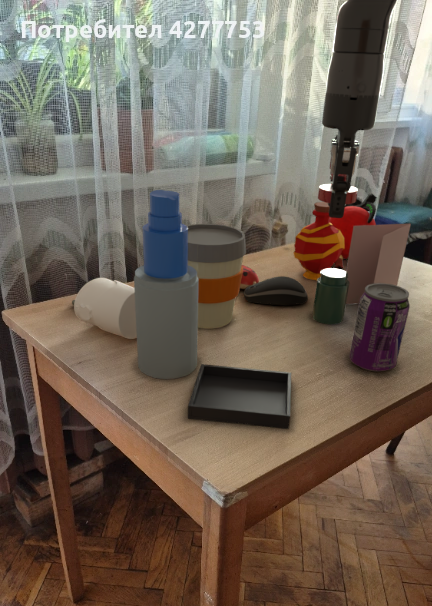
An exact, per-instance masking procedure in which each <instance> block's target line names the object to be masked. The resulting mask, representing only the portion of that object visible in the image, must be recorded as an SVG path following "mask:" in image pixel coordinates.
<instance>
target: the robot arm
mask: <svg viewBox="0 0 432 606" xmlns="http://www.w3.org/2000/svg"><path fill="white" fill-rule="evenodd" d="M397 2H398V0H346V1H345V2H344V3H342V5H341V6H340V7H339V10H338V13H337V17H336V23H335V30H334V36H333V37H334V38H333V45H332V53H331V58H330V63H329V66H328V72H327V78H326V87H325V96H324V101H323V102H324V103H323V111H322V119H321V120H322V121H321V124H322V126H323V127H325V128H326V129H327V128H328V129H333V130H337V134H336V135H335V136H334V139H331V142H330V151H329V152H330V159H329V180H330V184H332V185H331V189H332V190H331V192H332V194H331V201H330V203H328V206H329V207H330V208H329V216H330V217H331V218H342V217H343V215H344V209H345V205H346V204H345V203H346V196H347V193H348V191H349V190H350V188H351V186H352V185H351V183H352V177H353V176H354V174H355V171H356V170H355V169H356V161H357V157H358V155H359V151H360V143H359V141H358V140H356V136H357V133H358V132H359V131H370V130H372V129H374V127H375V124H376V119H377V112H378V108H379V102H380V95H381V90H382V84H383V77H384V69H385V68H384V67H385V66H384V65H385V56H386V55H385V54H386V48H387V43H388V38H389V37H388V36H389V31H390V23H391V18H392V15H393V12H394V9H395V7H396V4H397Z"/></svg>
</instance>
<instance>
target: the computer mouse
mask: <svg viewBox="0 0 432 606" xmlns="http://www.w3.org/2000/svg"><path fill="white" fill-rule="evenodd" d="M243 296H244V299H245V301H247V302H249V303H253V304H263V305H271V306H272V305H274V306H294V305H295V306H296V305H302V304H305V303H306V302H307V301H308V299H309V296H308V293H307V290H306V289H305V287H304V285H303V284H302V283H301V282H299V281H298V280H297V279H295V278H293V277H291V276H290V277H289V276H284V275H283V276H282V275H280V276H279V275H278V276H273V277H270V278H266V279H264V280H262V281H259V283H256V284H254V285H251V286H249V287H247V288H246V289H244V291H243Z"/></svg>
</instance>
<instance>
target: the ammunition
mask: <svg viewBox="0 0 432 606" xmlns="http://www.w3.org/2000/svg"><path fill="white" fill-rule="evenodd" d="M346 262H347V263H348V258H347V259H346ZM347 263H346V264H347ZM334 269H340V270H343V271H344V259H343V257H342V255H340V257H339V258H338V259H337V261H336V262H335V263H334Z"/></svg>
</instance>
